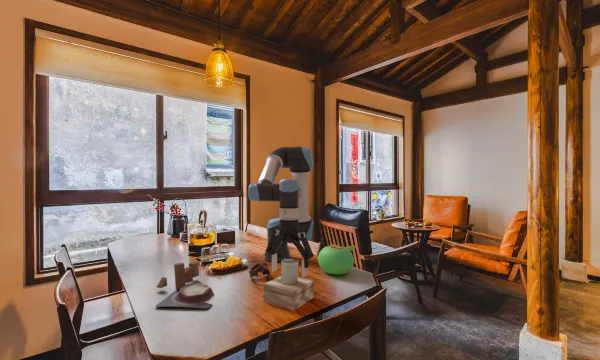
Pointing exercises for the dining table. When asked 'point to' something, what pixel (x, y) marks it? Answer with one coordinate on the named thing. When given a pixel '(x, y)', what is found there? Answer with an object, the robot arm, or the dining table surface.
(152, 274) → the dining table surface
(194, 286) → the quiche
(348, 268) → the round green toy
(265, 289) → the beech tea box
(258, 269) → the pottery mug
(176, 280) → the wooden block set
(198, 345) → the dining table surface
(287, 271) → the celadon tea cup
